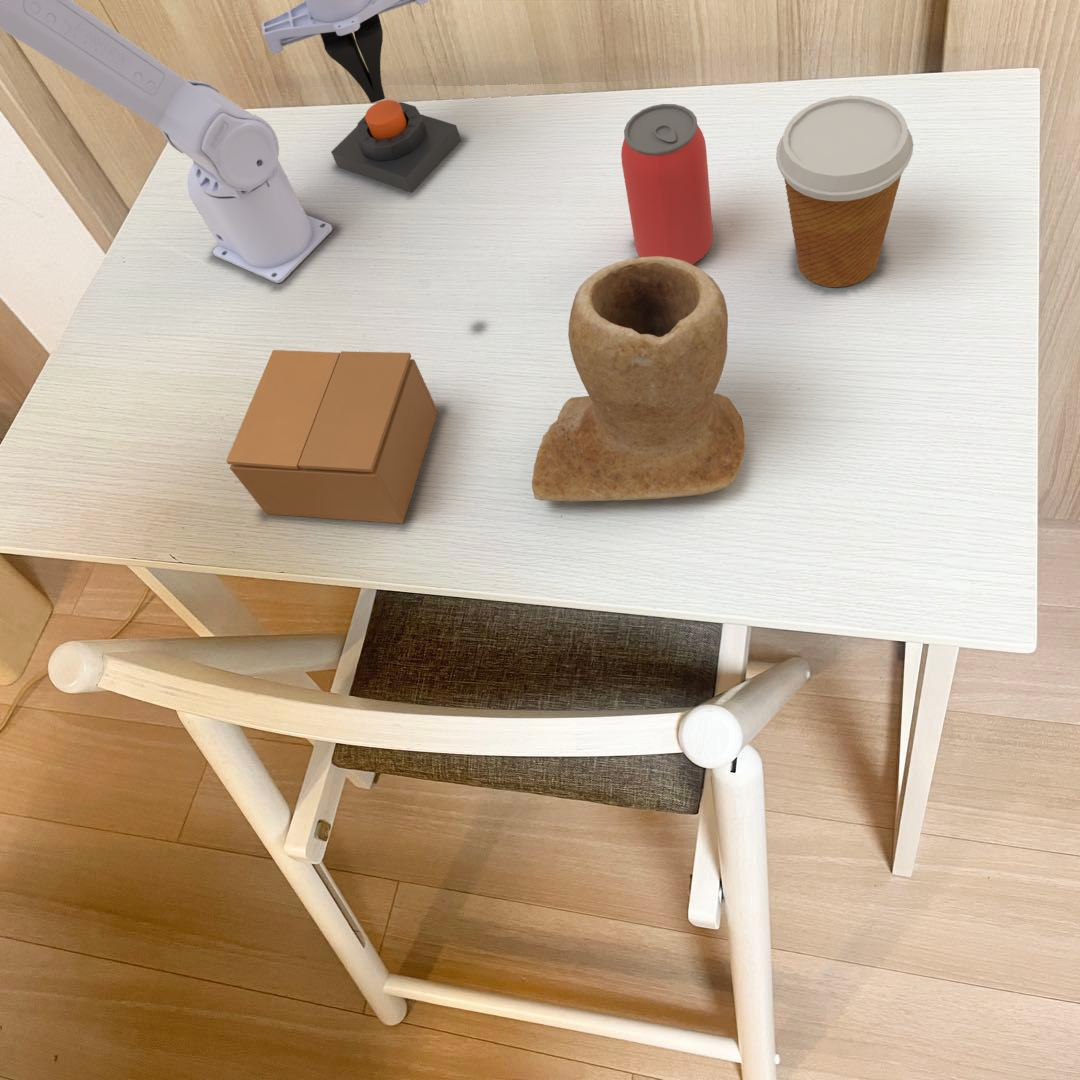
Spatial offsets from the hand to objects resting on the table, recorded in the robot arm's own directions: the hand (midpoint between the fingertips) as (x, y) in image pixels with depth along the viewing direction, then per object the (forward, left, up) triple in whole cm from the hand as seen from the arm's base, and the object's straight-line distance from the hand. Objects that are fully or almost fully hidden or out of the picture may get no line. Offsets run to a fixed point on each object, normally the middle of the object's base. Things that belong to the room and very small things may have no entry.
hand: (376, 95), depth 96 cm
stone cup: (+41, -19, -7) cm, 46 cm away
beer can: (+32, 0, -7) cm, 33 cm away
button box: (0, 0, -7) cm, 7 cm away
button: (0, 0, -4) cm, 4 cm away
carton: (+21, -31, -7) cm, 38 cm away
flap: (+18, -32, 0) cm, 37 cm away
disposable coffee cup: (+45, +4, -7) cm, 46 cm away
